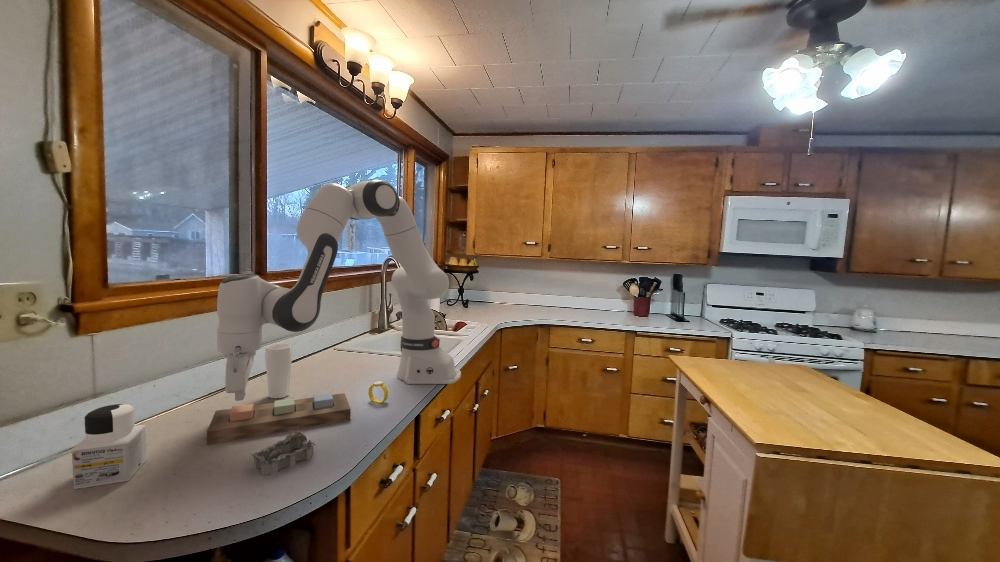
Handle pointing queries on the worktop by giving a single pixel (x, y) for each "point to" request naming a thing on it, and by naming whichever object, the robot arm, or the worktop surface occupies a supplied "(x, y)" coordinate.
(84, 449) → the container
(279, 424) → the button panel
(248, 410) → the terracotta button
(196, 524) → the worktop surface
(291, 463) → the egg carton
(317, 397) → the slate button
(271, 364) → the drinking glass
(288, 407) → the sage button
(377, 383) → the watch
